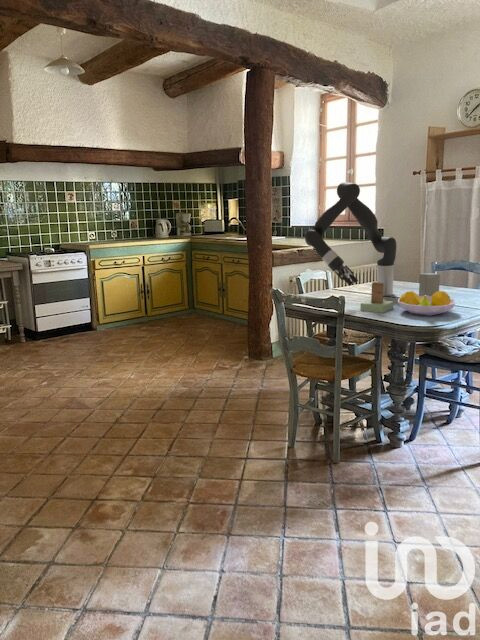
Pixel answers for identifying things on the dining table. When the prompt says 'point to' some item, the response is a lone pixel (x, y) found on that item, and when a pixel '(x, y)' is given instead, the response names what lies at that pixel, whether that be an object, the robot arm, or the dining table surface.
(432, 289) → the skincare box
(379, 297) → the walnut block
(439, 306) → the fruit bowl
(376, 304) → the sage platform block
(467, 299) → the dining table surface
